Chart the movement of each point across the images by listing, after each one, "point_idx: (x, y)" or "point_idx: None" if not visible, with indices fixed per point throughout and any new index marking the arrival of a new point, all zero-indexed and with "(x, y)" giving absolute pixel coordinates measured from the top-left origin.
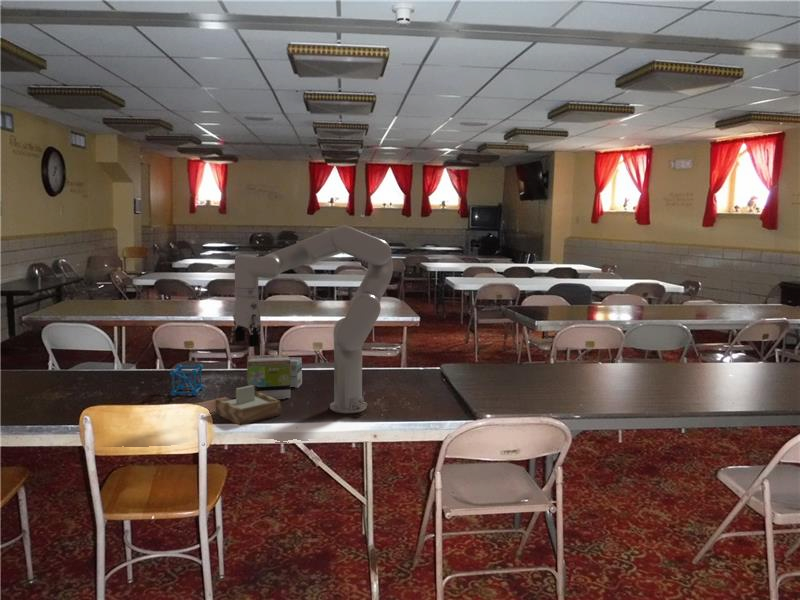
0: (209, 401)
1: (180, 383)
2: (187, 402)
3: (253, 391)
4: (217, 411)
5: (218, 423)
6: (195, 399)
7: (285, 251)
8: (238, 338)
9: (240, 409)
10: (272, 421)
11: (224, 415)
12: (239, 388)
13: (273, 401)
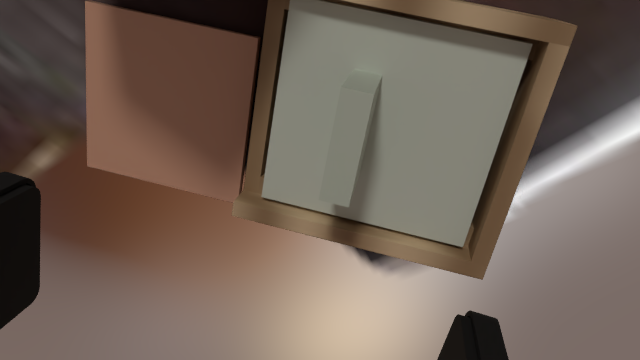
0: (99, 103)
1: None
2: (34, 150)
3: (375, 94)
4: None
5: (371, 264)
6: (14, 101)
7: None
8: (8, 296)
9: (476, 268)
10: (576, 117)
11: None
12: (337, 189)
13: (543, 64)
